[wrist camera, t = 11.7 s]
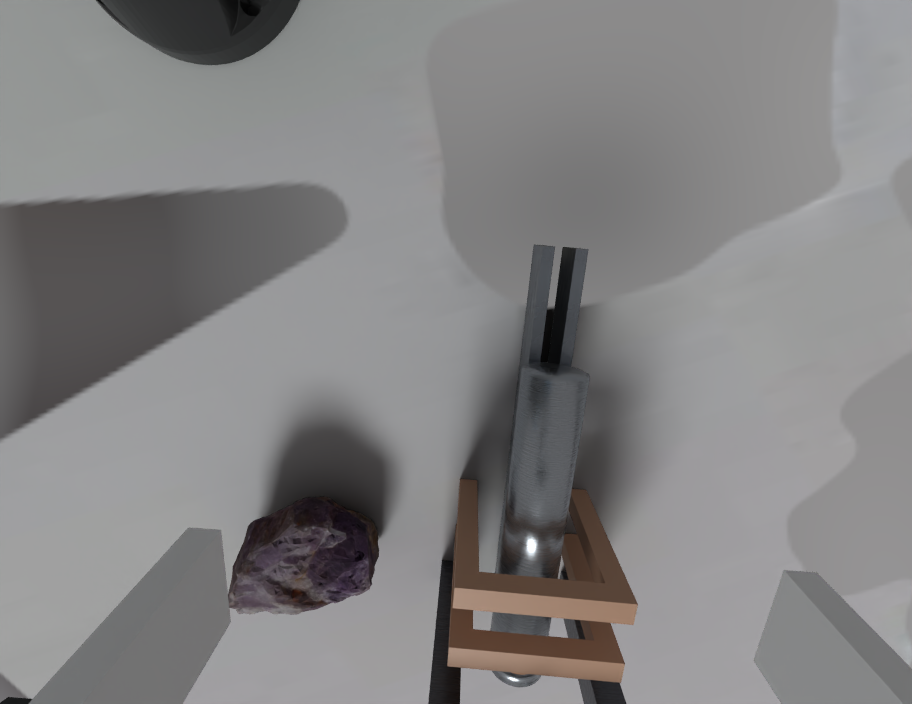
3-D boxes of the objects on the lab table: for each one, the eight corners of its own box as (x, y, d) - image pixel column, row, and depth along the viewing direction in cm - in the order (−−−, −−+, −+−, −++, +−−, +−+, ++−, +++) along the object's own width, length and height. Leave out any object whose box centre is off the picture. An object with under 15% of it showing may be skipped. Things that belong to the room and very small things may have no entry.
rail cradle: (533, 244, 34) (542, 245, 29) (573, 247, 34) (588, 249, 29) (492, 594, 42) (495, 636, 37) (524, 597, 42) (530, 639, 37)
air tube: (518, 360, 31) (526, 379, 27) (580, 365, 31) (597, 385, 27) (486, 633, 38) (488, 684, 33) (538, 638, 37) (547, 689, 33)
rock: (385, 550, 43) (362, 456, 40) (382, 625, 34) (353, 514, 32) (261, 578, 42) (229, 484, 39) (227, 662, 33) (184, 550, 31)
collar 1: (460, 478, 39) (454, 587, 27) (586, 489, 39) (637, 604, 27) (458, 493, 39) (452, 608, 27) (583, 505, 39) (633, 624, 27)
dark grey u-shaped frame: (442, 560, 41) (424, 744, 26) (583, 573, 41) (646, 766, 26) (440, 582, 42) (422, 775, 27) (579, 595, 41) (639, 796, 27)
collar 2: (456, 523, 40) (448, 647, 28) (578, 534, 40) (624, 663, 28) (454, 537, 40) (447, 666, 28) (576, 548, 40) (620, 682, 28)
